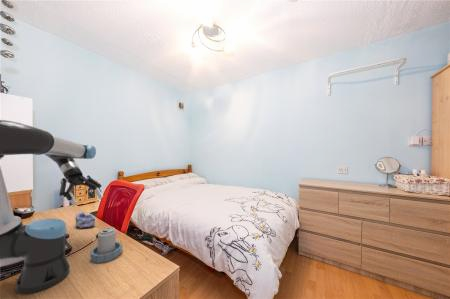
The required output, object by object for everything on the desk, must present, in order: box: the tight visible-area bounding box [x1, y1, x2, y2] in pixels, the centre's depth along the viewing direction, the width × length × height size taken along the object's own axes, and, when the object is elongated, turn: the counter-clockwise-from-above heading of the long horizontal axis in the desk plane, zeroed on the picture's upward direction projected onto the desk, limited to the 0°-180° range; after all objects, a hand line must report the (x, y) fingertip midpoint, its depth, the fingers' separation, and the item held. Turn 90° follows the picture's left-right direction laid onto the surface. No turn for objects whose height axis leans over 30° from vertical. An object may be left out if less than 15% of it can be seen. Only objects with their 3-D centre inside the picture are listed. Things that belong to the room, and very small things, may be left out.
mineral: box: [75, 212, 96, 229], centre depth 119 cm, size 14×10×10 cm
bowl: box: [89, 240, 123, 264], centre depth 88 cm, size 13×13×4 cm
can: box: [97, 226, 117, 255], centre depth 88 cm, size 8×8×12 cm
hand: (89, 200), depth 94 cm, fingers open, 13 cm apart
